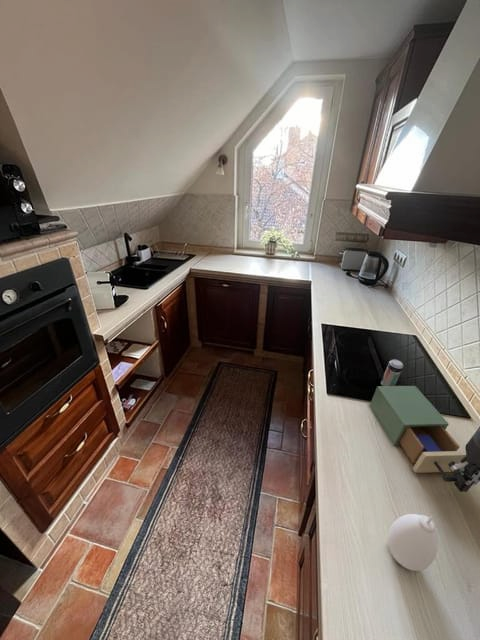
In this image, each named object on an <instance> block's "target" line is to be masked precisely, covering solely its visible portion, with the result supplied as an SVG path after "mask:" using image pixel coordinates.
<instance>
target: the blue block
mask: <svg viewBox="0 0 480 640" xmlns="http://www.w3.org/2000/svg"><path fill="white" fill-rule="evenodd" d="M416 436H417V438H418V439H419V441H420V442H421V443H422V445H423V446H424V449H423V451H422V452H421V454H422V453H423V452H442V451H441V449H440V448H439V447H438V446H437V444H436V443H435V442H434V440H433V439H432V438H431V437H430V435H416ZM421 454H420V456H421Z"/></svg>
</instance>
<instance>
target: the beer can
mask: <svg viewBox="0 0 480 640" xmlns="http://www.w3.org/2000/svg"><path fill="white" fill-rule="evenodd" d="M403 368H404V364H403V362H402V361H401V360H399V359H396V358H393V359H391V360H390V361H389V362H388V364H387V367H386V369H385V371H384V374H383V377H382V379H381V381H380V384H381V386H396V384H397V382H398V380H399V378H400V375H401V373H402V370H403Z"/></svg>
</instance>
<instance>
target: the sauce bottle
mask: <svg viewBox="0 0 480 640" xmlns="http://www.w3.org/2000/svg"><path fill="white" fill-rule="evenodd" d="M433 518H434V515H431V516H427V515H424V514H418V513H417V514H416V513H409V514H403V515H401V516H400V517H398V518H397V519H395V520H394V521H393V523H392V524H391V526H390V528H389V530H388V534H387V545H388V549H389V552H390V554H391V556H392V557H393V558H394V560H395V561H396V562H397V563H398V564H399V565H400V566H402V567H404V568H405V569H407V570H409V571H414V572H420V571H424V570H426V569H427V568H429V567H430V566H431V565H432V563H433V562H434V561H435V559H436V556H437V553H438V547H439V540H438V534H437V530H436V525H435V523H434V521H433Z"/></svg>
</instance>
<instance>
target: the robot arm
mask: <svg viewBox="0 0 480 640" xmlns="http://www.w3.org/2000/svg"><path fill="white" fill-rule="evenodd" d="M464 451H466V456H465V457H464V458H462V459H461V463H459V464H457V465H456V464H454V463H453V462H451V463H449V464H448V466H449V468H450V469H451V471H452V472H451V473H452V475H454V476H455V477H456V478H457V480H456V481H455V482H453V484H454V486H455V487H456V489H457V490H458V491H459V493H466V492H468V491H469V490H470V489H471V487H473V486H476V485H478V484H479V483H480V426H479V427H478V428H477V429H476V431H475V432H474V434H473V435H472V436H471V437H470V439H469V440H468V442H467V443H466V444H465V450H464Z"/></svg>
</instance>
